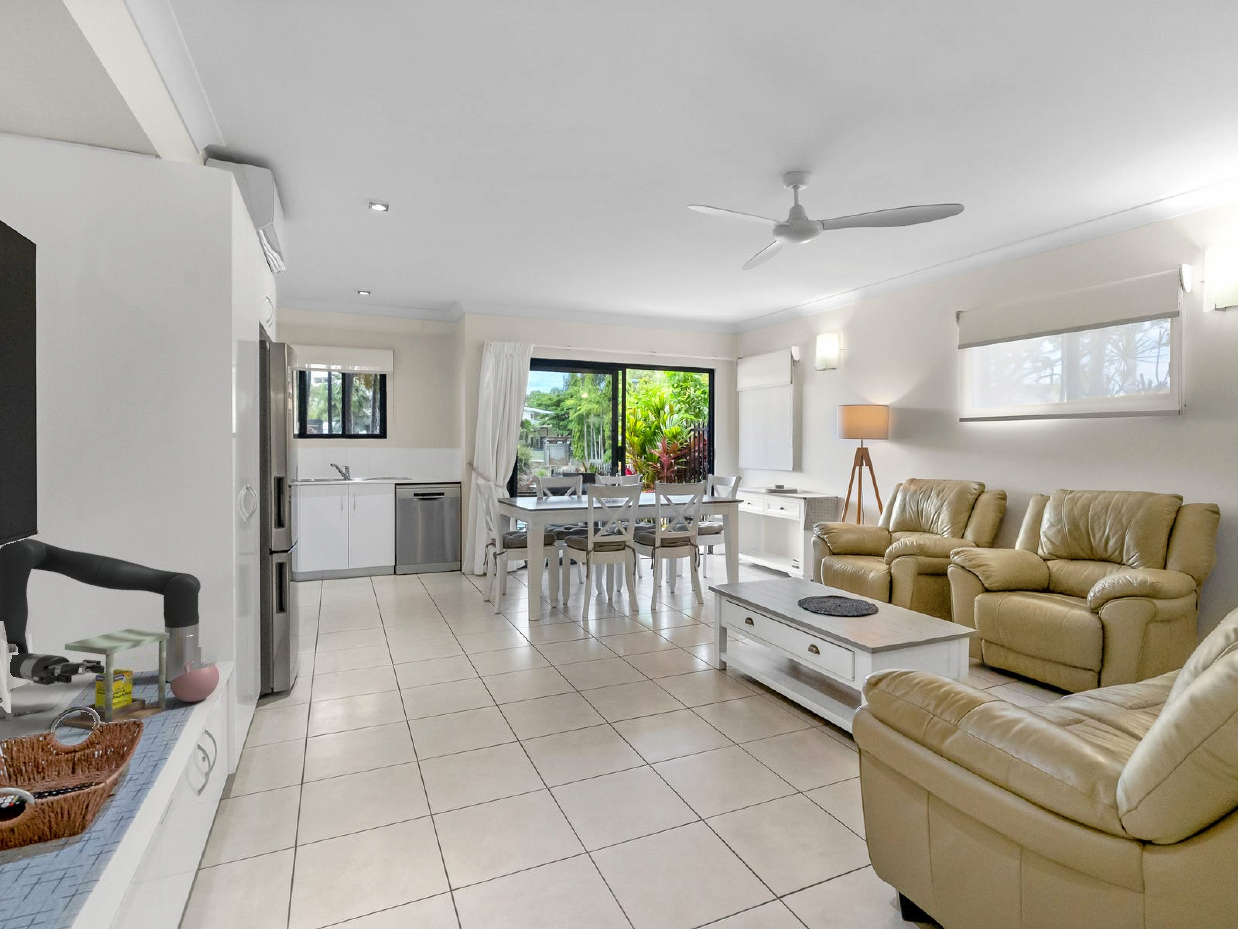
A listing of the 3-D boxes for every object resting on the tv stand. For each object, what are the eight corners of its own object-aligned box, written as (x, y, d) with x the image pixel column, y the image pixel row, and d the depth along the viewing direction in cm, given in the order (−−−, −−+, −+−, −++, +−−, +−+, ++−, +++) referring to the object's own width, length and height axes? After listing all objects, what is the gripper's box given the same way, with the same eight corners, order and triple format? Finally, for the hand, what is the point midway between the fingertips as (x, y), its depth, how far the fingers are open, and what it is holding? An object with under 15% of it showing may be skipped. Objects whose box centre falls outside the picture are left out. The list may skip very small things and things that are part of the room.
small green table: (125, 702, 188) (126, 628, 188) (168, 709, 184) (169, 633, 184) (60, 725, 172) (62, 643, 172) (105, 733, 167) (106, 649, 167)
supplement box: (111, 717, 175) (112, 677, 175) (94, 715, 176) (94, 675, 176) (132, 709, 180) (133, 670, 180) (115, 707, 182) (116, 668, 182)
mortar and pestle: (202, 691, 199) (203, 653, 199) (227, 697, 193) (228, 659, 193) (160, 704, 188) (161, 664, 188) (186, 711, 183) (187, 670, 183)
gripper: (16, 662, 178) (59, 668, 174) (72, 648, 192) (113, 653, 188) (15, 689, 178) (58, 696, 174) (72, 674, 192) (113, 680, 188)
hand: (87, 674), depth 181 cm, fingers open, 8 cm apart
